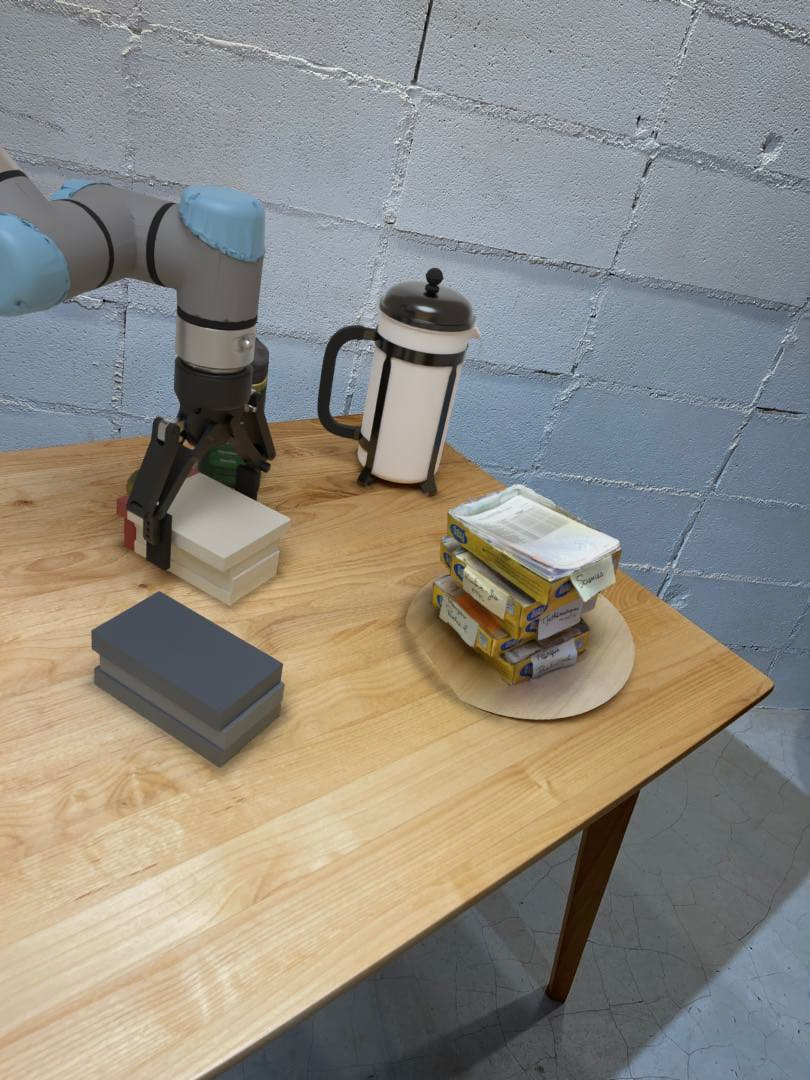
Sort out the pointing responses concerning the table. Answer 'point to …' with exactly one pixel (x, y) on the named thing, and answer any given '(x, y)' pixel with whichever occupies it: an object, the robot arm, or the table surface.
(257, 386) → the coffee jar
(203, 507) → the white book
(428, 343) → the coffee press
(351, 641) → the table surface
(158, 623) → the grey stack
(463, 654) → the paper stack
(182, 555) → the white stack
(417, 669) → the table surface
